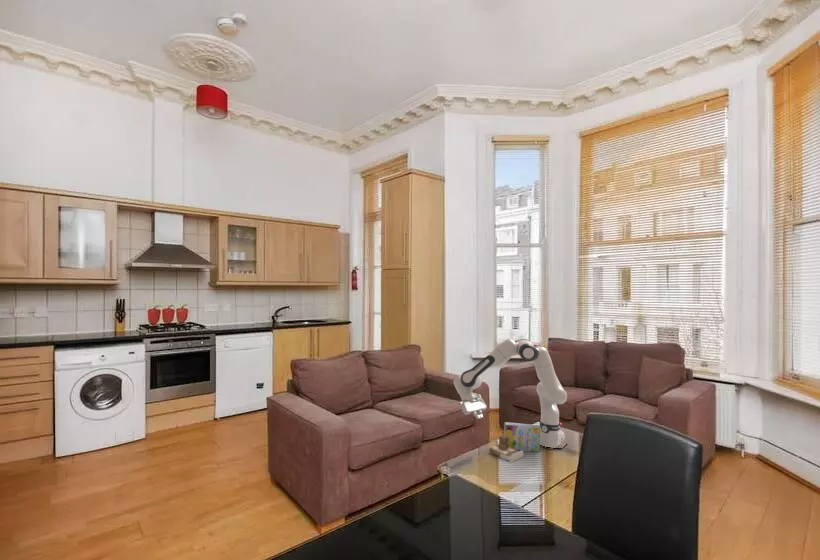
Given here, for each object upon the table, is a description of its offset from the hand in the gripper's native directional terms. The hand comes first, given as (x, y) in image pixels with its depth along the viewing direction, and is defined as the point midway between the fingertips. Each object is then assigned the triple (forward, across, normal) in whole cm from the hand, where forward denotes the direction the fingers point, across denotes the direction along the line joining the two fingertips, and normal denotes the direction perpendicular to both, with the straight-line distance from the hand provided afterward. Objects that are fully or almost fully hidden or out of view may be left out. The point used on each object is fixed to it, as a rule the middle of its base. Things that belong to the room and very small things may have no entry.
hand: (480, 418), depth 260 cm
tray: (+28, 0, -6) cm, 29 cm away
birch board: (+24, 0, -2) cm, 24 cm away
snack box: (+26, +16, -3) cm, 31 cm away
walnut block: (+22, 0, -4) cm, 22 cm away
